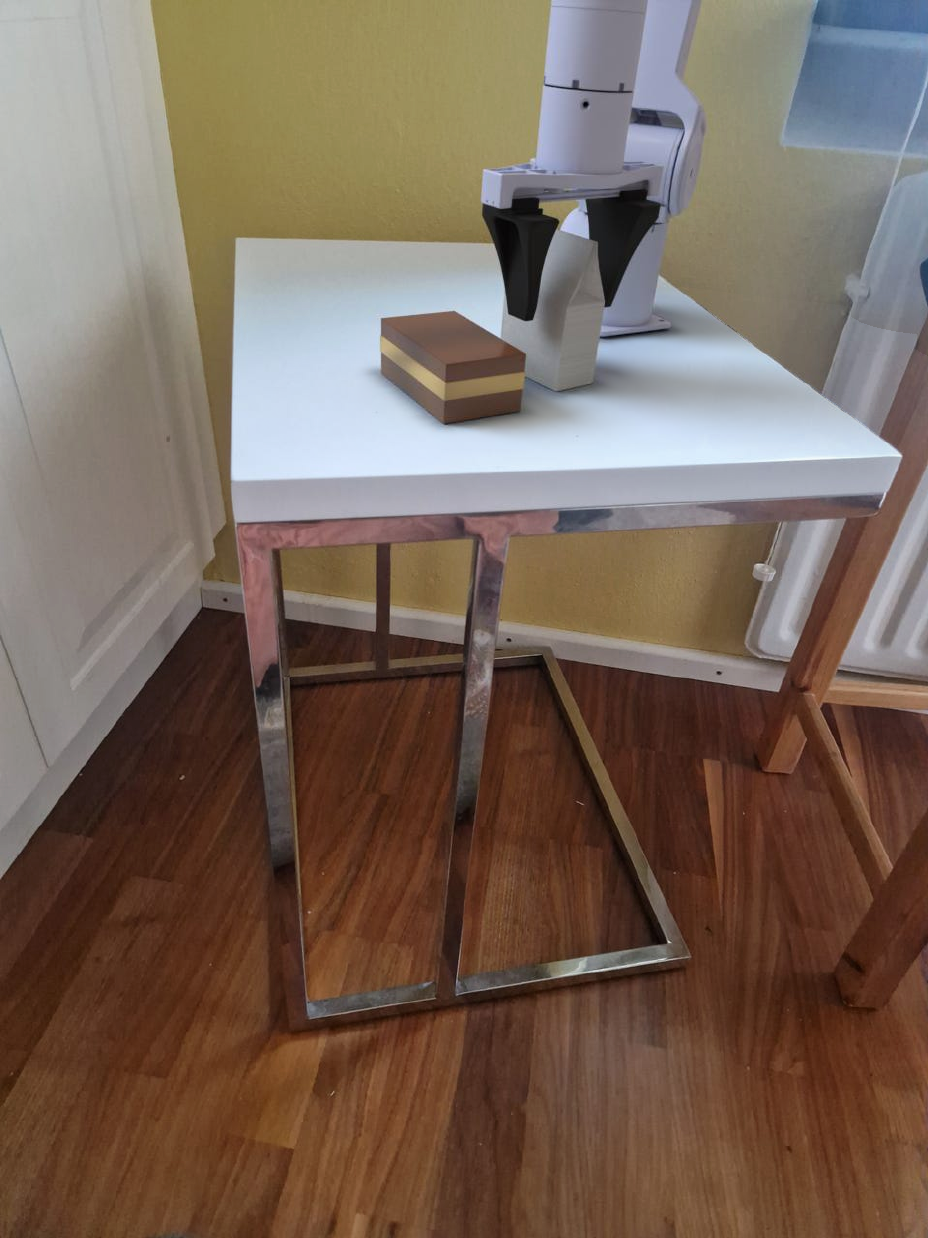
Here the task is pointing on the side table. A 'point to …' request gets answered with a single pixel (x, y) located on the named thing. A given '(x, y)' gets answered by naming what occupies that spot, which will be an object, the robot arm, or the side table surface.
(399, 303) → the side table surface
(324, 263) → the side table surface
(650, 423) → the side table surface
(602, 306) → the white milk carton
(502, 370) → the snack box
